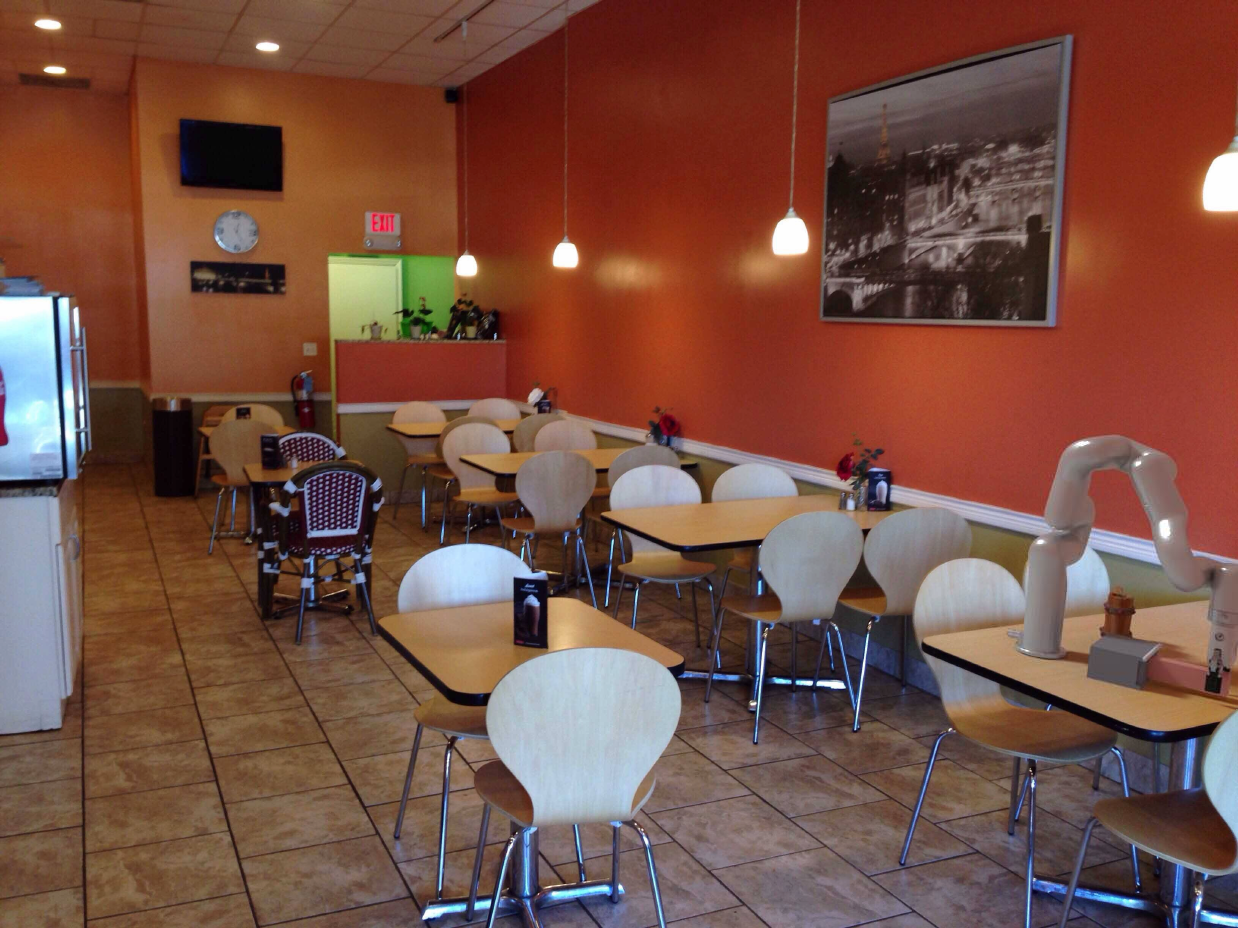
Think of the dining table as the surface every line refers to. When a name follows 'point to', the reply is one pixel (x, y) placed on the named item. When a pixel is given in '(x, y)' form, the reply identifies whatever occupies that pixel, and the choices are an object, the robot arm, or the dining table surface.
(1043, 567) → the robot arm
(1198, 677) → the long pink plank
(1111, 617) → the brown wooden cylinder bundle
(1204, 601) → the dining table surface
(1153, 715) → the dining table surface
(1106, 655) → the dispenser
